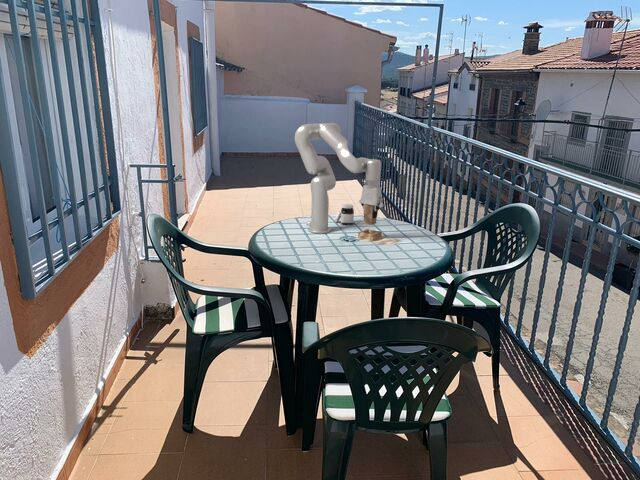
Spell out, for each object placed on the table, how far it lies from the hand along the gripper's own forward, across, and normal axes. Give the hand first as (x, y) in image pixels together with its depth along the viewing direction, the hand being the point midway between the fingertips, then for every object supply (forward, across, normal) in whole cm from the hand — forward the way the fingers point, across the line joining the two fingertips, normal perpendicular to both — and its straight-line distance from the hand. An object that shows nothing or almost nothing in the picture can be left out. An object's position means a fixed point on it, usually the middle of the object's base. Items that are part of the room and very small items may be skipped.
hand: (370, 216), depth 269 cm
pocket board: (+12, +6, 0) cm, 14 cm away
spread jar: (+13, -30, +19) cm, 38 cm away
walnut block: (+4, 0, 0) cm, 4 cm away
